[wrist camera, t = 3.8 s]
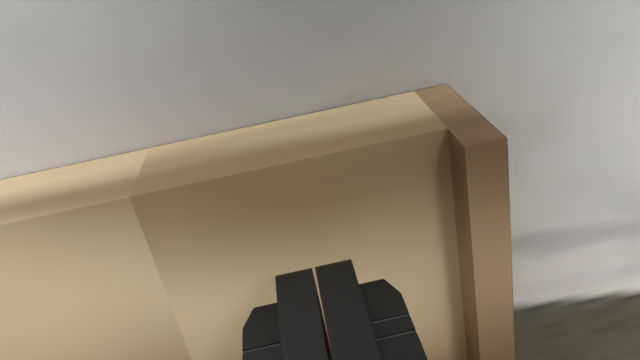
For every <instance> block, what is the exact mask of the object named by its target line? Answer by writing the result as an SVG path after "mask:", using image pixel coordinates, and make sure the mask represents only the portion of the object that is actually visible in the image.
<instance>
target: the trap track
mask: <svg viewBox="0 0 640 360" xmlns="http://www.w3.org/2000/svg"><path fill="white" fill-rule="evenodd" d="M349 259H351V260H352V263H353V267H354V270H355V273H356V277H357V280H358V283H359V284H362V283H366V282H371V281H375V280H380V279H385V280H386V281H387V282H388V283H390V284H391V285H392V286H393V287H394V288H396V289H397V290H398V291H399V292H400V293H401V294H402V297H403V299H404V302H405V304H406V307H407V309H408V312H409V315H410V317H411V319H412V322H413V324H414V326H415V329H416V333H417V334H418V336H419V339H420V341H421V344H422V346H423V349H424V351H425V354H426V356H427V359H428V360H515V344H514V316H513V287H512V259H511V230H510V202H509V174H508V145H507V137H505V136H504V135H503V134H502V133H501V132H500V131H499V130H498V129H497V128H495V127H494V126H493V125H492V124H491V123H490V122H489V121H488V120H486V119H485V118H484V117H483V116H482V115H481V114H480V113H479V112H477V111H476V110H475V109H474V108H473V107H472V106H471V105H470V104H469V103H467V102H466V101H465V100H464V99H463V98H462V97H461V96H460V95H458V94H457V93H456V92H455V91H454V90H453V89H452V88H451V87H450V86H448V85H447V84H445V85H440V86H435V87H431V88H426V89H421V90H417V91H412V92H407V93H403V94H398V95H393V96H389V97H384V98H379V99H375V100H370V101H365V102H361V103H356V104H351V105H347V106H342V107H338V108H333V109H328V110H324V111H319V112H314V113H310V114H305V115H300V116H296V117H291V118H286V119H282V120H277V121H272V122H268V123H263V124H258V125H254V126H249V127H244V128H240V129H235V130H231V131H226V132H221V133H217V134H212V135H207V136H203V137H198V138H193V139H189V140H184V141H179V142H175V143H170V144H165V145H161V146H156V147H151V148H147V149H142V150H137V151H133V152H128V153H123V154H119V155H114V156H110V157H105V158H100V159H96V160H91V161H86V162H82V163H77V164H72V165H68V166H63V167H58V168H54V169H49V170H44V171H40V172H35V173H30V174H26V175H21V176H16V177H12V178H7V179H3V180H0V360H242V354H243V351H242V331H243V327H244V325H245V323H246V321H247V319H248V317H249V315H250V313H251V312H252V310H253V308H255V307H259V306H264V305H268V304H273V303H277V294H276V281H275V276H277V275H282V274H286V273H291V272H295V271H300V270H304V269H309V268H312V270H313V274H314V279H315V283H316V287H317V292H318V296H319V300H320V305H321V309H322V313H323V318H324V322H325V317H324V312H323V307H322V301H321V296H320V291H319V286H318V281H317V275H316V270H315V267H317V266H322V265H326V264H331V263H335V262H340V261H344V260H349ZM325 326H326V322H325ZM326 331H327V327H326ZM327 335H328V333H327ZM328 340H329V338H328ZM329 345H330V343H329ZM330 349H331V348H330Z"/></svg>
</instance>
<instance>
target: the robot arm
mask: <svg viewBox="0 0 640 360" xmlns="http://www.w3.org/2000/svg"><path fill="white" fill-rule="evenodd" d="M315 270H316V275H317V281H318V286H319V291H320V296H321V301H322V307H323V312H324V317H325V322H326V326H325V322H324V318H323V313H322V309H321V305H320V300H319V296H318V292H317V287H316V283H315V279H314V274H313V270H312V268H309V269H304V270H300V271H295V272H291V273H286V274H282V275H277V276H275V281H276V294H277V303H273V304H268V305H264V306H259V307H255V308H253V310H252V312H251V313H250V315H249V317H248V319H247V321H246V323H245V325H244V327H243V331H242V351H243V354H242V360H428V359H427V356H426V354H425V351H424V349H423V346H422V344H421V341H420V339H419V336H418V334H417V333H416V329H415V326H414V324H413V322H412V319H411V317H410V315H409V312H408V309H407V307H406V304H405V302H404V299H403V297H402V294H401V293H400V292H399V291H398V290H397V289H396V288H394V287H393V286H392V285H391V284H390V283H388V282H387V281H386V280H385V279H380V280H375V281H371V282H366V283H362V284H359V283H358V280H357V277H356V273H355V270H354V267H353V263H352V260H351V259H349V260H344V261H340V262H335V263H331V264H326V265H322V266H317V267H315ZM326 327H327V331H326ZM327 333H328V335H327ZM328 338H329V340H328ZM329 343H330V345H329ZM330 348H331V349H330Z"/></svg>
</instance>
